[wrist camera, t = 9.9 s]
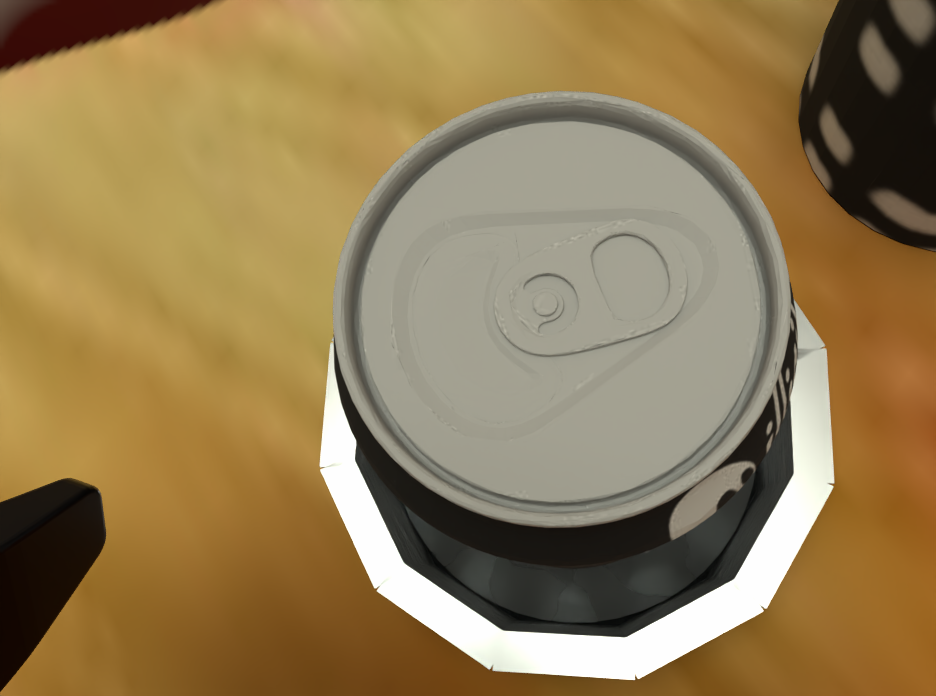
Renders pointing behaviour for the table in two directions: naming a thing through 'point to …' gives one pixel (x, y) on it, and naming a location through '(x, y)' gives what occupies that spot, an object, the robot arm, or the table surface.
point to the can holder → (603, 587)
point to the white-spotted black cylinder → (876, 115)
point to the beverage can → (564, 329)
